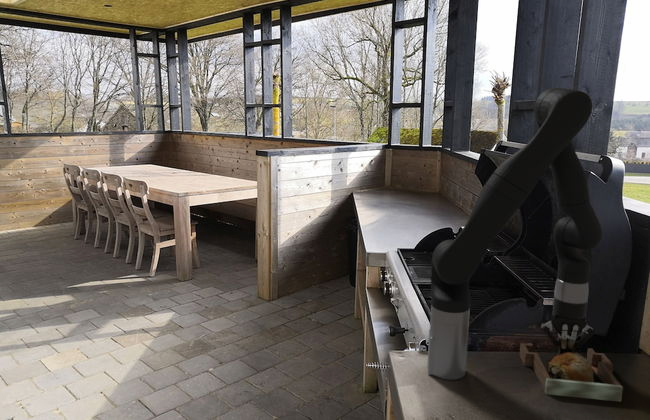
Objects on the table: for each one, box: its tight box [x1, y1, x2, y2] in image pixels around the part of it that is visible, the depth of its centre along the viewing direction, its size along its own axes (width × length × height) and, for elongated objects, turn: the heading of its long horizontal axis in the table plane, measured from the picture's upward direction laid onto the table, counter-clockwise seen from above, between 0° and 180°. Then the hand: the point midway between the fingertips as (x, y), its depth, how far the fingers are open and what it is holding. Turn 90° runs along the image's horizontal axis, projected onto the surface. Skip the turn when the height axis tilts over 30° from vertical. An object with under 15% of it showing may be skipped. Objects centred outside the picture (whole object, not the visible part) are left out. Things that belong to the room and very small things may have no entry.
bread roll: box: [547, 351, 595, 383], centre depth 119 cm, size 10×10×8 cm
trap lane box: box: [519, 342, 624, 403], centre depth 120 cm, size 20×20×4 cm
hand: (564, 360), depth 125 cm, fingers closed
